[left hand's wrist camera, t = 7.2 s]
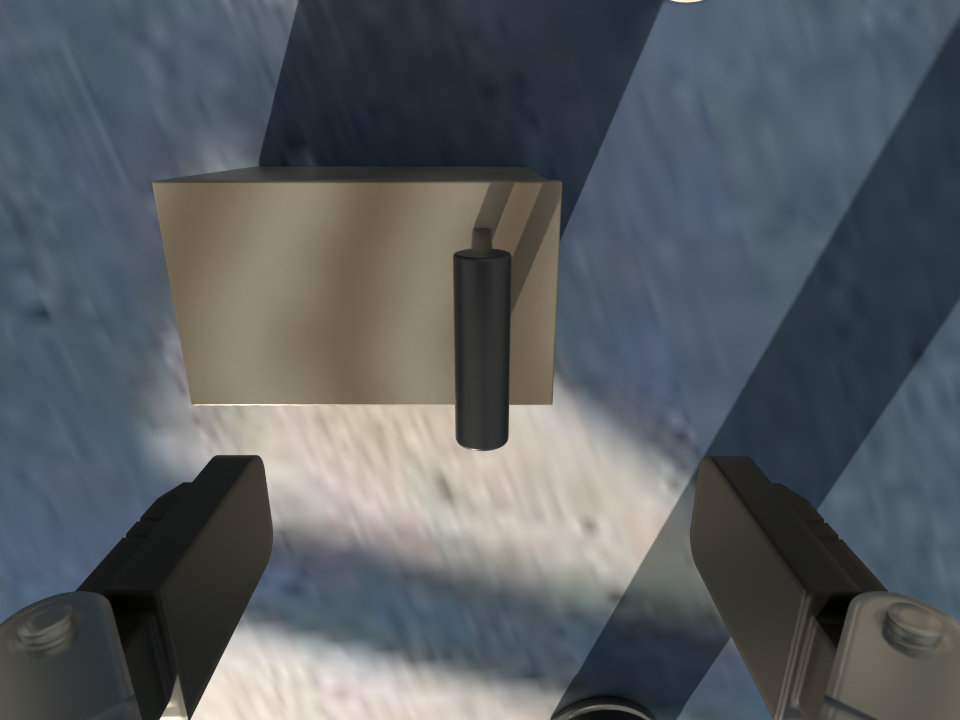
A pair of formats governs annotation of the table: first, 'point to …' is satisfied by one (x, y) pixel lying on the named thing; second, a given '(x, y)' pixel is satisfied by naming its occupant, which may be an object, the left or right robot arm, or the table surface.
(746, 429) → the table surface
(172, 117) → the table surface
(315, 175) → the chest
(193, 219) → the lid
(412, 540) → the table surface
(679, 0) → the coffee cup
